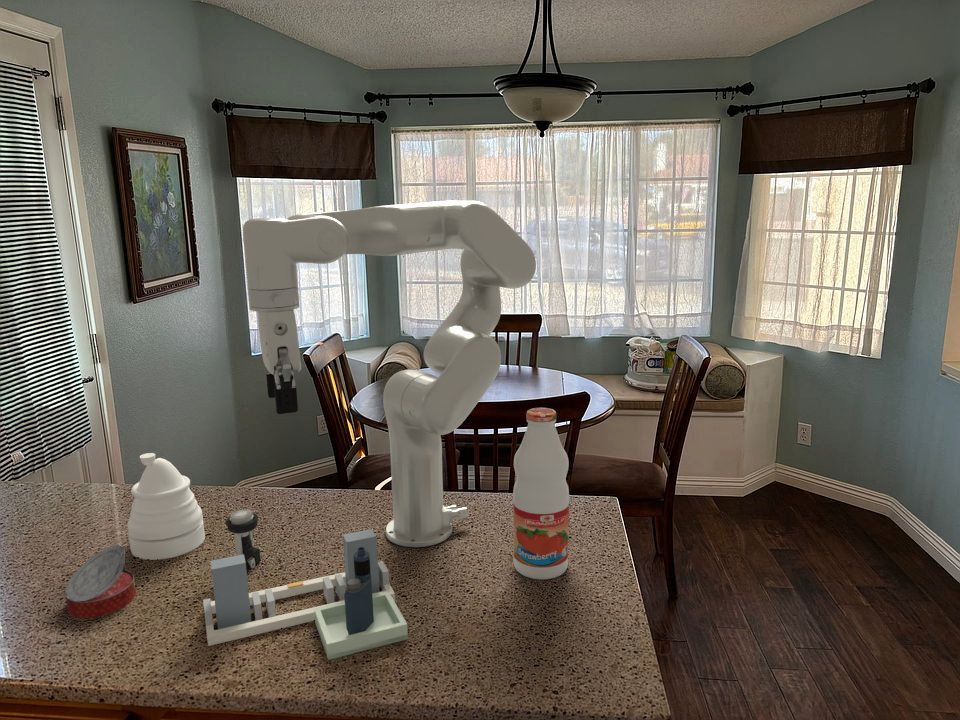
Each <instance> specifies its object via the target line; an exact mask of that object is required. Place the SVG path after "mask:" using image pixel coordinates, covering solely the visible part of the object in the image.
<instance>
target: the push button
mask: <svg viewBox="0 0 960 720" xmlns="http://www.w3.org/2000/svg"><path fill="white" fill-rule="evenodd" d="M258 521H259V516H258V514H256V513H254V512H253V511H252V510H251V509H248V508H247V509H238V510H235V511H232V512H231V514H230V516H228V517H227V518H226V519H225V525H226V527H227V531H228V532H230V533H232V534H233V535H234V545H235V549H234V550H235V556H237V555H243V554H244V558H245V562H246V571H248V570H249V569H253V568H255V566H256V564H259V563H260V562H261V552H260V551H261V549H260V548H258V547H255V544H254V538H253V535H254V534H253V530H255V529H256V528H257V527H258Z"/></svg>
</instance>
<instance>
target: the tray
mask: <svg viewBox="0 0 960 720" xmlns="http://www.w3.org/2000/svg"><path fill="white" fill-rule="evenodd" d="M372 598H373V616H374V622H373V623H372V624H371V625H370V626H369V627H368V628H367V629H366V631H364V632H360V633H356V634H352V635H350V634H349V633H348V631H347V628H346V613H345V602H341V603H336V604H332V605H328V606H323V607H319V608H315V609H314V615H315V621H314V623H315V627H316V630H317V633H318V636H319V639H320V641H321V645H322V646H323V649H324V653H325V655H326V658H327V660H328V661H330V660H334V659H338V658H342V657H346V656H349V655H353V654H357V653H360V652H364V651H367V650H368V651H369V650H372V649H376V648H379V647H384V646H387V645H391V644H396V643H400V642H402V641H406V640H409V637H408V636H409V633H408V632H409V631H408V623H407V621H406V620H405V617H404V615H403V614H402V612H401V611H400V609H399V607H398V605H397V604H396V601H394V600H393V598H392V596H391V595H390V593H389V591H388V592H383V593H379V594H375V595H372Z"/></svg>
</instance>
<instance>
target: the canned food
mask: <svg viewBox="0 0 960 720" xmlns="http://www.w3.org/2000/svg"><path fill="white" fill-rule="evenodd" d="M125 557H126V549H125V546H122V545H120V544H119V545H118V544H115V545H111V546H108V547H105V548H104V549H102V550H100V551H99V552H97V553H96V554H94V555H93V556H91V558H89V559H87V560H86V561H84V563H82V565H81V566H80V567H79V568H78V569H76V570H75V572H74V573H73V575H71V578H70V579H69V580H68V582H67V585H66V588H65V591H64V596H65V601H66V606H67V612H68V614H69V615H70V616H72V617H75V618H78V619H79V618H80V619H94V618H99V616H100V617H103V615H104V616H107V615H106V614H108V613H111V614H113V613H115V612H114V611H116V612H118V611H120V610H122V609H123V607H124V608H125V607H127V606H128V605H129V604H131V603H132V602H133V600H135V598H136V596H137V595H136V594H137V591H136V586H135V585H136V584H135V577H134V574H133V573H132V572H130V571H129V570H127V569H124V567H125V564H126V561H125V560H126V559H125ZM135 595H136V596H135ZM134 597H135V598H134ZM131 601H132V602H131ZM130 602H131V603H130ZM127 604H128V605H127ZM126 605H127V606H126ZM121 608H122V609H121ZM119 609H120V610H119ZM117 610H118V611H117ZM112 612H113V613H112ZM108 615H109V614H108ZM93 617H94V618H93Z"/></svg>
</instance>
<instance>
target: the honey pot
mask: <svg viewBox="0 0 960 720" xmlns="http://www.w3.org/2000/svg"><path fill="white" fill-rule="evenodd" d="M139 459H140V462H141V464H142V465H144V466H146V467H145V469H144V471H143V472H142V475H141V478H140V479H139V481H138V482H136V483H135V484H134V485H133V486H132V487H131V491H130V493H131V495H132V496H133V497H134V498H133V502H132V504H131V507H130V508H131V510H130V513H129V518H128V520H127V521H128V522H127V526H126V527H127V532H128V541H129V542H128V543H129V548H130V553H131V554H132V556H134V557H135V558H137V557H139V558H138V559H141V558H142V559H141V560H147V559H150V560H151V561H155V560H156V561H157V559H158V560H166V559H167V560H168V559H171V558H176V557H179V556H182V555H185V554H187V553H190V552H192V551H193V550H196V549H197V548H198V547H200V546H201V545H202V544H203V543H204V541H205V538H206V534H205V533H206V532H205V525H204V517H203V510H202V508H201V507H200V505H198V501H197V500H196V498H195V494H194V492H192V490H191V489H190V486H191V479H190V478H189V477H188V476H186V475H184V474H183V475H182V474H181V473H180V472H179V470H178V469H177V468H176V467H175V466H174V464H172V463H171V462H170V461H168V459H165V458H161V457H158V458H156V453H154V452H147V453H143V454H141V455H139Z"/></svg>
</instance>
